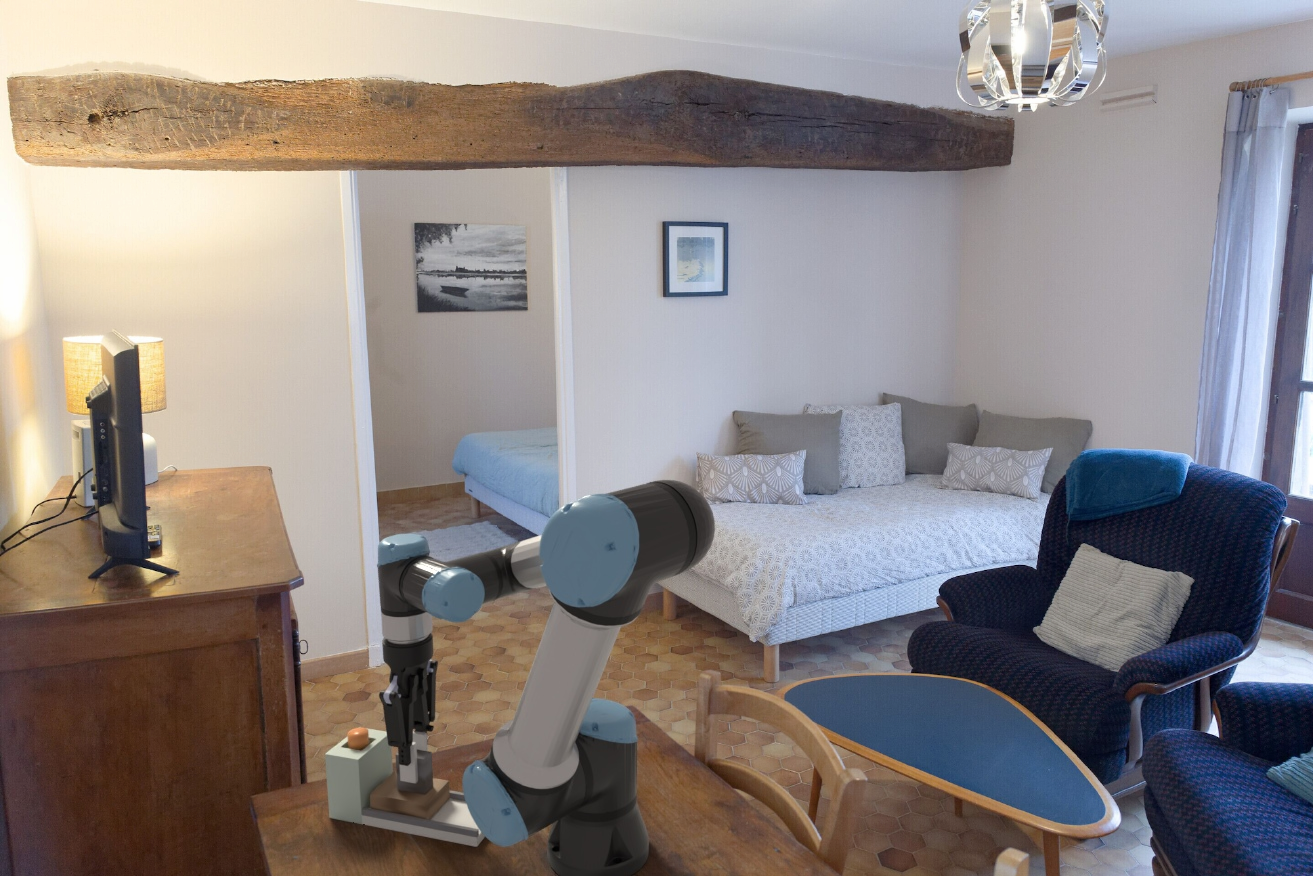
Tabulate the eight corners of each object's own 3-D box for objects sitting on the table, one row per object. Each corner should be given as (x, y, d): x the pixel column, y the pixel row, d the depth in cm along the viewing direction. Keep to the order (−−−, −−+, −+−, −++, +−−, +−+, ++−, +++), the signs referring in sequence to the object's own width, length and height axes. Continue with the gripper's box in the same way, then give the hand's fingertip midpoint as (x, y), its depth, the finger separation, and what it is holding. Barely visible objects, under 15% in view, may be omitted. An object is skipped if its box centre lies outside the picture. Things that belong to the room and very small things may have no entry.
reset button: (373, 743, 149) (372, 729, 149) (361, 752, 146) (360, 738, 146) (356, 740, 150) (355, 726, 149) (344, 749, 147) (343, 735, 146)
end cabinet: (394, 793, 153) (390, 732, 151) (362, 824, 145) (358, 759, 143) (362, 788, 155) (359, 727, 153) (329, 817, 146) (324, 753, 144)
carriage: (449, 797, 149) (447, 746, 147) (427, 822, 142) (424, 768, 141) (395, 787, 152) (392, 737, 150) (370, 811, 145) (367, 758, 143)
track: (503, 813, 147) (503, 799, 147) (476, 846, 139) (476, 831, 138) (394, 793, 153) (393, 779, 153) (362, 824, 145) (361, 809, 144)
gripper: (413, 614, 150) (419, 748, 154) (356, 651, 135) (365, 798, 139) (454, 619, 148) (460, 755, 152) (401, 657, 133) (408, 806, 137)
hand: (414, 775), depth 146 cm, fingers closed on carriage, 2 cm apart
